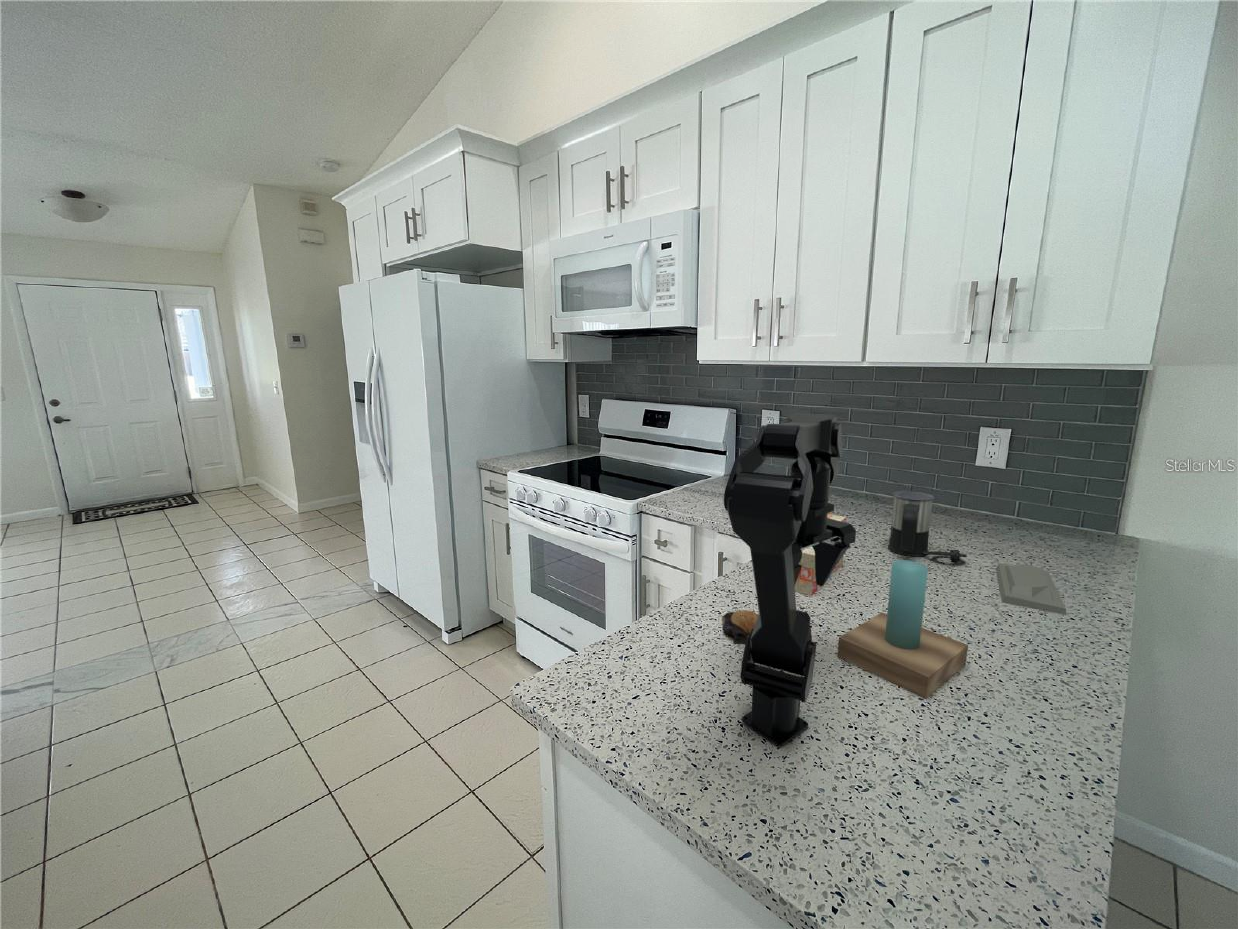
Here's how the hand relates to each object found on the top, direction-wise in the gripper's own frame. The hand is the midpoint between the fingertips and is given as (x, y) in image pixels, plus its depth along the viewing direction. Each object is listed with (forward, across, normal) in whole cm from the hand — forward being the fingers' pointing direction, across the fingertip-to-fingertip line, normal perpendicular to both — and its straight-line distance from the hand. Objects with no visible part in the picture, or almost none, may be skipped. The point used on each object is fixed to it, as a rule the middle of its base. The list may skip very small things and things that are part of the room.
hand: (802, 593), depth 82 cm
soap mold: (+14, -63, +12) cm, 66 cm away
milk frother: (+13, -67, -10) cm, 69 cm away
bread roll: (+14, -3, -13) cm, 19 cm away
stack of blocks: (+13, -34, -20) cm, 42 cm away
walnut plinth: (+13, -15, +9) cm, 22 cm away
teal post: (+10, -15, +9) cm, 20 cm away
